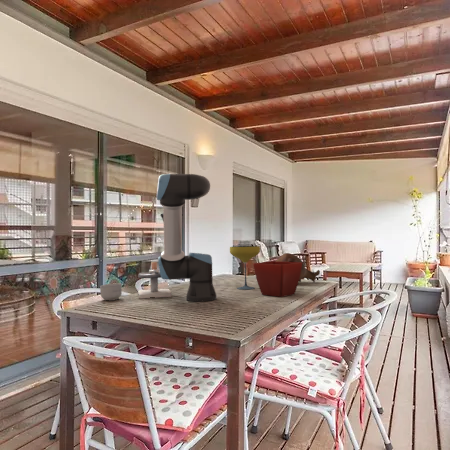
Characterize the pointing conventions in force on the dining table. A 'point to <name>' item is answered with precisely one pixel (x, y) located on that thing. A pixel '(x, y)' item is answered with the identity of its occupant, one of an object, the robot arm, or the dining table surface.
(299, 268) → the plant pot
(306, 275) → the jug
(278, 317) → the dining table surface
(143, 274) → the handwheel
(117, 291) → the teacup
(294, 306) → the dining table surface
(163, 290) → the wheel stand
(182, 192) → the robot arm
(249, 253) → the cocktail glass
